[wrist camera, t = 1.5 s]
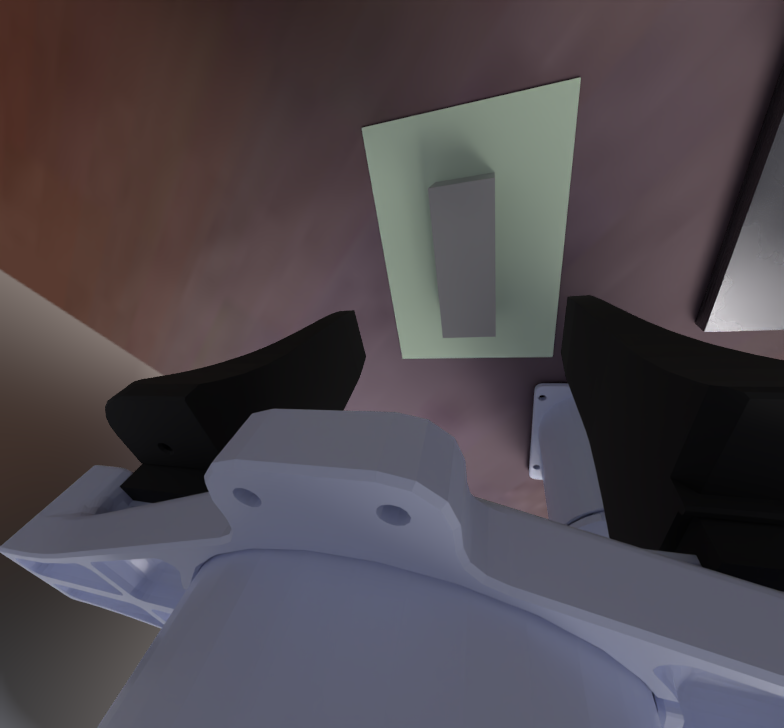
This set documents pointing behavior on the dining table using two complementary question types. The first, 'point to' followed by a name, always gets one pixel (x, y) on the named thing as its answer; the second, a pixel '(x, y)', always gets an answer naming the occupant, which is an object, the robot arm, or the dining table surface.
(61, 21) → the dining table surface
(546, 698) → the robot arm
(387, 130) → the board
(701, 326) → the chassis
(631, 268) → the dining table surface
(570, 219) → the dining table surface
